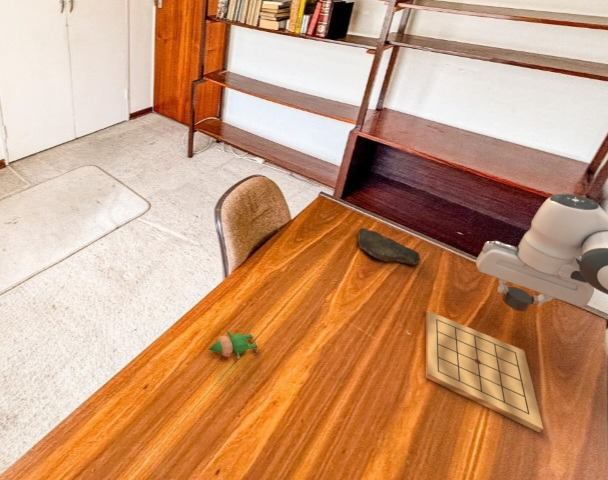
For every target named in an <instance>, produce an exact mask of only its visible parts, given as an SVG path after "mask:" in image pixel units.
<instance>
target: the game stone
mask: <svg viewBox="0 0 608 480" xmlns="http://www.w3.org/2000/svg"><path fill="white" fill-rule="evenodd" d="M508 290H509V291H508V293H507V294H506V295H505V294H502V296H501V299H502V301H503V302H504V304H505V305H506V306H508V308H509V307H510V308H511V309H513V310H516V311H517V312H527V311H529V308H530V307H531V305H532V304H531V303H532V302H533V299H532V295H530V294H529V292H527V291H525V290H523V289H522V288H519V287H517V286H508Z"/></svg>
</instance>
